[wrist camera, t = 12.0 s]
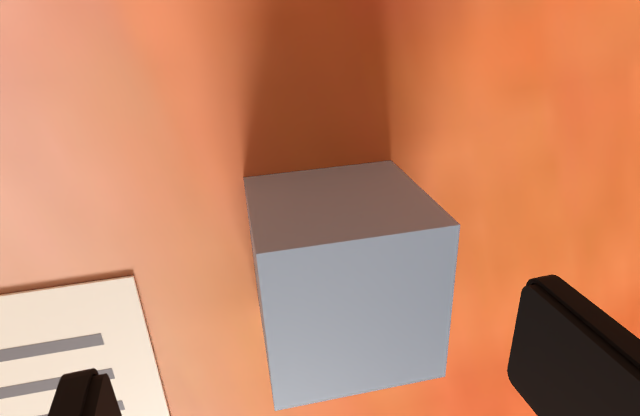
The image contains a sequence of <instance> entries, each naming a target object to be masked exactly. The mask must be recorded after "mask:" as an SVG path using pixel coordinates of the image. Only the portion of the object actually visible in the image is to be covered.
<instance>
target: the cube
mask: <svg viewBox="0 0 640 416" xmlns="http://www.w3.org/2000/svg"><path fill="white" fill-rule="evenodd" d="M243 178H244V186H245V194H246V202H247V210H248V218H249V226H250V234H251V242H252V250H253V258H254V266H255V275H256V283H257V291H258V299H259V306H260V313H261V320H262V327H263V334H264V340H265V347H266V354H267V361H268V367H269V374H270V381H271V388H272V395H273V401H274V408H275V411H277V410H282V409H287V408H292V407H297V406H302V405H307V404H312V403H317V402H322V401H327V400H332V399H336V398H341V397H346V396H351V395H356V394H361V393H366V392H371V391H376V390H381V389H386V388H391V387H396V386H401V385H406V384H411V383H416V382H421V381H425V380H430V379H435V378H440V377H445V373H446V363H447V353H448V343H449V333H450V322H451V312H452V302H453V292H454V282H455V272H456V262H457V252H458V242H459V231H460V224H459V223H458V222H457V221H456V220H455V219H453V218H452V217H451V216H450V215H449V214H448V213H447V212H446V211H445V210H444V209H443V208H442V207H441V206H440V205H438V204H437V203H436V202H435V201H434V200H433V199H432V198H431V197H430V196H429V195H428V194H427V193H426V192H425V191H424V190H422V189H421V188H420V187H419V186H418V185H417V184H416V183H415V182H414V181H413V180H412V179H411V178H410V177H409V176H407V175H406V174H405V173H404V172H403V171H402V170H401V169H400V168H399V167H398V166H397V165H396V164H395V163H394V162H393V161H391V160H390V161H381V162H372V163H364V164H355V165H346V166H338V167H329V168H320V169H312V170H303V171H294V172H286V173H277V174H268V175H260V176H251V177H243Z"/></svg>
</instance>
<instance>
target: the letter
mask: <svg viewBox="0 0 640 416" xmlns="http://www.w3.org/2000/svg"><path fill="white" fill-rule="evenodd" d="M91 368H95V369H96V370H97V371H98V373H99V375H100V374H105V373H107V374H108V376H109V378H110V381H111V384H112V387H113V390H114V393H115V396H116V399H117V402H118V405H119V408H120V411H121V414H122V416H170V413H169V409H168V405H167V402H166V398H165V394H164V390H163V386H162V382H161V379H160V375H159V371H158V367H157V363H156V359H155V355H154V352H153V348H152V344H151V340H150V336H149V332H148V329H147V325H146V321H145V317H144V313H143V309H142V306H141V302H140V298H139V294H138V290H137V286H136V283H135V279H134V275H133V276H126V277H119V278H112V279H105V280H98V281H91V282H85V283H78V284H71V285H64V286H57V287H50V288H43V289H37V290H30V291H23V292H16V293H9V294H2V295H0V416H48V413H49V410H50V407H51V404H52V401H53V398H54V395H55V392H56V389H57V386H58V383H59V380H60V378H61V376H62V375H63V374H67V373H72V372H77V371H82V370H87V369H91Z"/></svg>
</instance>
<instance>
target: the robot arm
mask: <svg viewBox="0 0 640 416" xmlns="http://www.w3.org/2000/svg"><path fill="white" fill-rule="evenodd" d="M507 372H508V377H509V380H510V382H511V383H512V385H513V386H514V387H515V389H516V390H517V391H518V392H519V394H520V395H521V396H522V397H523V398H524V400H525V401H526V402H527V403H528V404H529V406H530V407H531V408H532V409H533V411H534V412H535V413H536V414H537V415H538V416H640V339H639V338H637V337H636V336H635V335H633V334H632V333H631V332H630V331H628V330H627V329H626V328H624V327H623V326H622V325H620V324H619V323H618V322H617V321H615V320H614V319H613V318H611V317H610V316H609V315H608V314H606V313H605V312H604V311H602V310H601V309H600V308H599V307H597V306H596V305H595V304H593V303H592V302H591V301H589V300H588V299H587V298H586V297H584V296H583V295H582V294H580V293H579V292H578V291H577V290H575V289H574V288H573V287H571V286H570V285H569V284H568V283H566V282H565V281H564V280H562V279H561V278H560V277H558V276H556V275H547V276H542V277H538V278H533V279H530V280H529V281H528V282H527V284H526V286H525V287H524V288H523V289H522V292H521V297H520V303H519V308H518V314H517V319H516V325H515V330H514V336H513V341H512V347H511V352H510V357H509V363H508V369H507ZM48 416H122V414H121V411H120V408H119V405H118V402H117V399H116V396H115V393H114V390H113V387H112V384H111V381H110V378H109V376H108V374H107V373H105V374H100V375H99V373H98V371H97V370H96V369H95V368H91V369H87V370H82V371H77V372H72V373H67V374H63V375H62V376H61V378H60V380H59V383H58V386H57V389H56V392H55V395H54V398H53V401H52V404H51V407H50V410H49V413H48Z"/></svg>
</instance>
